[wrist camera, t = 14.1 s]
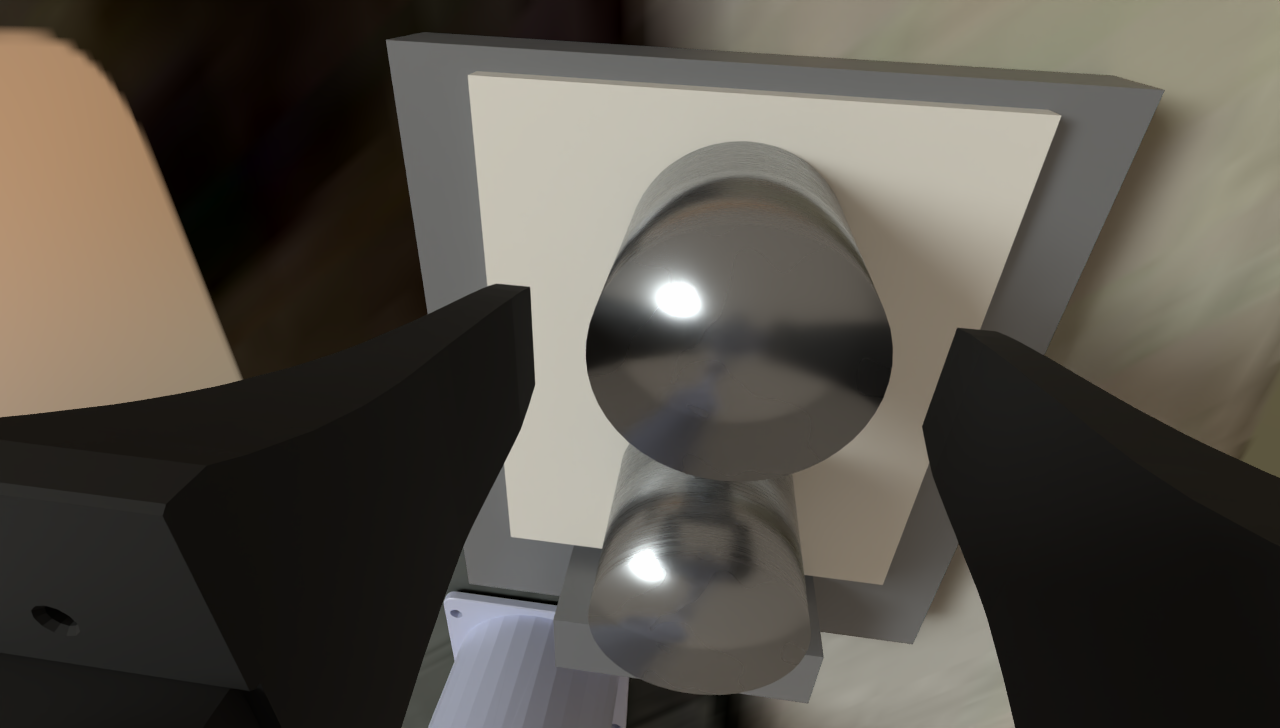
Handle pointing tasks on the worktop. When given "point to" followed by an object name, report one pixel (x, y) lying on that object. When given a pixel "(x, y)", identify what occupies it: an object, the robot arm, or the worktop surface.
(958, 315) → the kitchen scale
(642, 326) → the cylinder
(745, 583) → the cylinder
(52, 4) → the worktop surface
